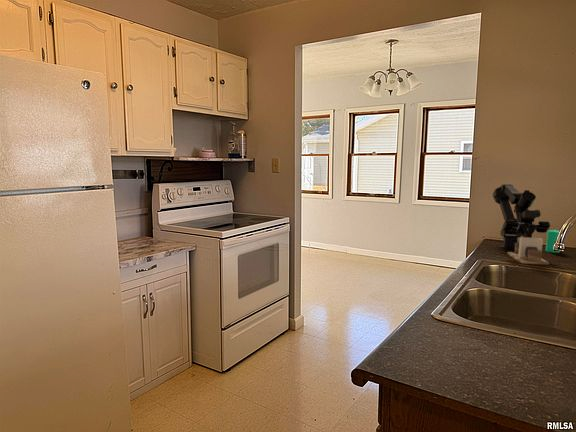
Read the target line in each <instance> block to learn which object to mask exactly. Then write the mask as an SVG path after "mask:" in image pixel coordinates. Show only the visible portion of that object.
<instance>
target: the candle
mask: <svg viewBox="0 0 576 432" xmlns="http://www.w3.org/2000/svg"><path fill="white" fill-rule="evenodd" d="M559 231H560V230H557V229H550V230H547V232H546V233H547V234H546V244H545V251H546V252H548V253H555V254H556V253H557V254H559V253H560V252H561V250H560V251H554V250H553V245H554V243H555V241H556V239H557V236H558V234H559Z"/></svg>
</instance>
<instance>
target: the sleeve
mask: <svg viewBox="0 0 576 432" xmlns="http://www.w3.org/2000/svg"><path fill="white" fill-rule="evenodd" d="M543 240H544V239H543V238H542V237H532V238H530V237H523V236H521V237H520V238H519V242H518V243H519V252H518V256H519V257H522V258H526V257H527V256H528V249H532V250H541V251H542V252H543Z"/></svg>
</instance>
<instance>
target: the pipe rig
mask: <svg viewBox="0 0 576 432" xmlns="http://www.w3.org/2000/svg"><path fill="white" fill-rule="evenodd" d="M518 252H519V242H518V243H515V249H514V251H507V255H509V257H512V258H513V259H514V260H515V261H517V262H519V263H521V264H529V265H530V264H531V265H548V266H549V264H550V262H549V261H547V260H546V259H543V250H542V251H541V250H534V249H528V256H527V257H526V258H522V257H519V256H518Z"/></svg>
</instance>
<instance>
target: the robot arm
mask: <svg viewBox="0 0 576 432" xmlns="http://www.w3.org/2000/svg"><path fill="white" fill-rule="evenodd" d="M492 197H493V200H494V202H495V203H496V204H498V205H499V206H500V210H501V213H502V216H503V220H504V223H503V224H502V228H501V230H500V233H499V234H500V236H501V237H503V241H502V245H500V246H499V247H500V248H502V249H504V250H505V249H506V250H515V243H519V242H518V238H519V239H520V237H530V238H533V237H532V236H533V234H534V233H535V231H536V232H537V233H539V234H540V233H541V234H543V233H544V234H546V233H548V231H549V229H550V227H551V223H550V222H549V221H545V220H544V221H543V220H540V221H538V223H534V222H535V219H536V218H539V217H541V214H542V213H541V211H540V209H535V210H529V208H531V207H532V205H533V203H534V201H535V200H536V198H537V197H536V195H535V193H533V192H531V191H530V190H529V189H527V190H525V189H524V191H523V192H522V191H518V190H517V189H516V188H515V187H514V186H513V184H507V183H504V184H501V186H499V187H497V188H495V189H494V191H493V193H492ZM511 205H514V207H513V209H512V206H511ZM514 213H515V215H514ZM515 217H516V218H515Z"/></svg>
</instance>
